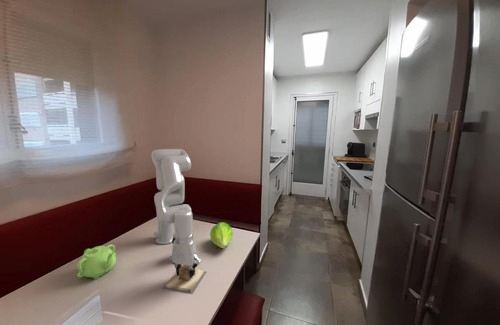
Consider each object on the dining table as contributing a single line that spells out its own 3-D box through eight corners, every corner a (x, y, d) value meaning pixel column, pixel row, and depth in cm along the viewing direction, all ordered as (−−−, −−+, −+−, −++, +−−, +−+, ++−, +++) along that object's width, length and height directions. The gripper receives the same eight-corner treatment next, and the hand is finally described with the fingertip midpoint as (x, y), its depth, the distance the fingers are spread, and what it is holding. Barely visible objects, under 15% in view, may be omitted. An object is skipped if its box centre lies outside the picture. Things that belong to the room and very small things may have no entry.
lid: (166, 287, 85) (165, 274, 84) (181, 269, 97) (180, 257, 96) (191, 292, 83) (190, 278, 82) (203, 272, 94) (203, 260, 94)
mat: (162, 289, 85) (162, 288, 85) (180, 268, 98) (180, 267, 98) (192, 295, 82) (192, 294, 82) (206, 272, 95) (206, 271, 95)
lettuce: (209, 257, 108) (209, 236, 106) (210, 238, 127) (210, 220, 126) (234, 254, 110) (234, 234, 108) (232, 236, 130) (232, 219, 128)
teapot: (123, 259, 105) (122, 237, 103) (115, 277, 92) (113, 252, 90) (86, 266, 99) (84, 242, 98) (72, 286, 86) (69, 259, 85)
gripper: (161, 239, 85) (163, 277, 88) (198, 244, 82) (199, 284, 84) (171, 231, 93) (173, 267, 95) (206, 236, 89) (206, 272, 91)
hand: (185, 274), depth 90 cm, fingers open, 5 cm apart
